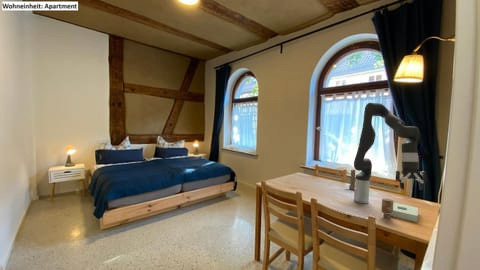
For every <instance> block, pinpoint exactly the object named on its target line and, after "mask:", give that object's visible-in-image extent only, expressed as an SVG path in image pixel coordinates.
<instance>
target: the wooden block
mask: <svg viewBox="0 0 480 270" xmlns="http://www.w3.org/2000/svg"><path fill="white" fill-rule="evenodd" d="M349 180H350V181H349V183H350V184H349V185H348V187H349V188H348V189H349V190H351V191H354V190H355V184H356V169H355V168H354V169H352V168H351V169H350V179H349Z"/></svg>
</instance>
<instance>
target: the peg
mask: <svg viewBox="0 0 480 270" xmlns="http://www.w3.org/2000/svg"><path fill="white" fill-rule="evenodd" d="M393 203H395V201H394V200H393V199H390V198H387V197H386V198H381V210H380V211H381V213H383V218H384V219H386V220H390V219H391V216H390V214H393Z"/></svg>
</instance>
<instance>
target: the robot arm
mask: <svg viewBox="0 0 480 270" xmlns="http://www.w3.org/2000/svg"><path fill="white" fill-rule="evenodd" d="M373 117H381V118H383V119H384V122H385V124H386V125H387V126H388V127H389V128H390V129H392V130H393V132H394V133H395V134H396V136H397V137H399V138H401V139H407V141H406V142H403V143H401V149H400V150H401V157H400V158H401V170H395V181H396V182H399V188H400V189H401V190H405V181H406V180H407V179H408V180H410V179H411V180H416V181H417V182H418V189H419V190H420V191H423V190H424V184H425V183H428V176H427V172H426V171H424V170H422V171H420V166H419V164H420V163H419V161H420V159H419V155H418V144H419V139H420V135H421V133H420V129H419V127H417V126H412V125H408V126H407V125H406V123H405V121H404V120H402V119H400V118H399V117H398V116H396V115H394V114H393V113H392V112H391V110H389V108H387V107H386V106H385V105H384V104H383V103H380V102H368V103H367V104H366V105H365V107H364V112H363V121H362V128H361V132H360V137H359V143H358V146H357V147H358V148H357V151H356V155H355V157H354V160H353V161H354V162H353V167H354V170H355V171H359V173H356V174H355V178H356V182H355V190H353V191H354V194H353V195H354V196H353V201H354V202H357V203H360V204H369V202H370V201H369V200H370V179H371V176H372V169H373V163H372V160H371V159H369V158H367V157H366V154H367V153H368V152H369V150H370V149H371V148H372V147H373V145H374V143H375V139H376V131H375V128H374V127H373ZM365 157H366V158H365ZM401 175H402V176H401ZM420 175H421V177H420Z"/></svg>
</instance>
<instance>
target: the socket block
mask: <svg viewBox="0 0 480 270" xmlns="http://www.w3.org/2000/svg"><path fill="white" fill-rule="evenodd" d="M390 217H393V218H399V219H402V220H406V221H407V220H408V221H411V222H415V223H418V217H419V208H418V207H416V206H411V205H407V204H401V203H395V202H393V214H390Z"/></svg>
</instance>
